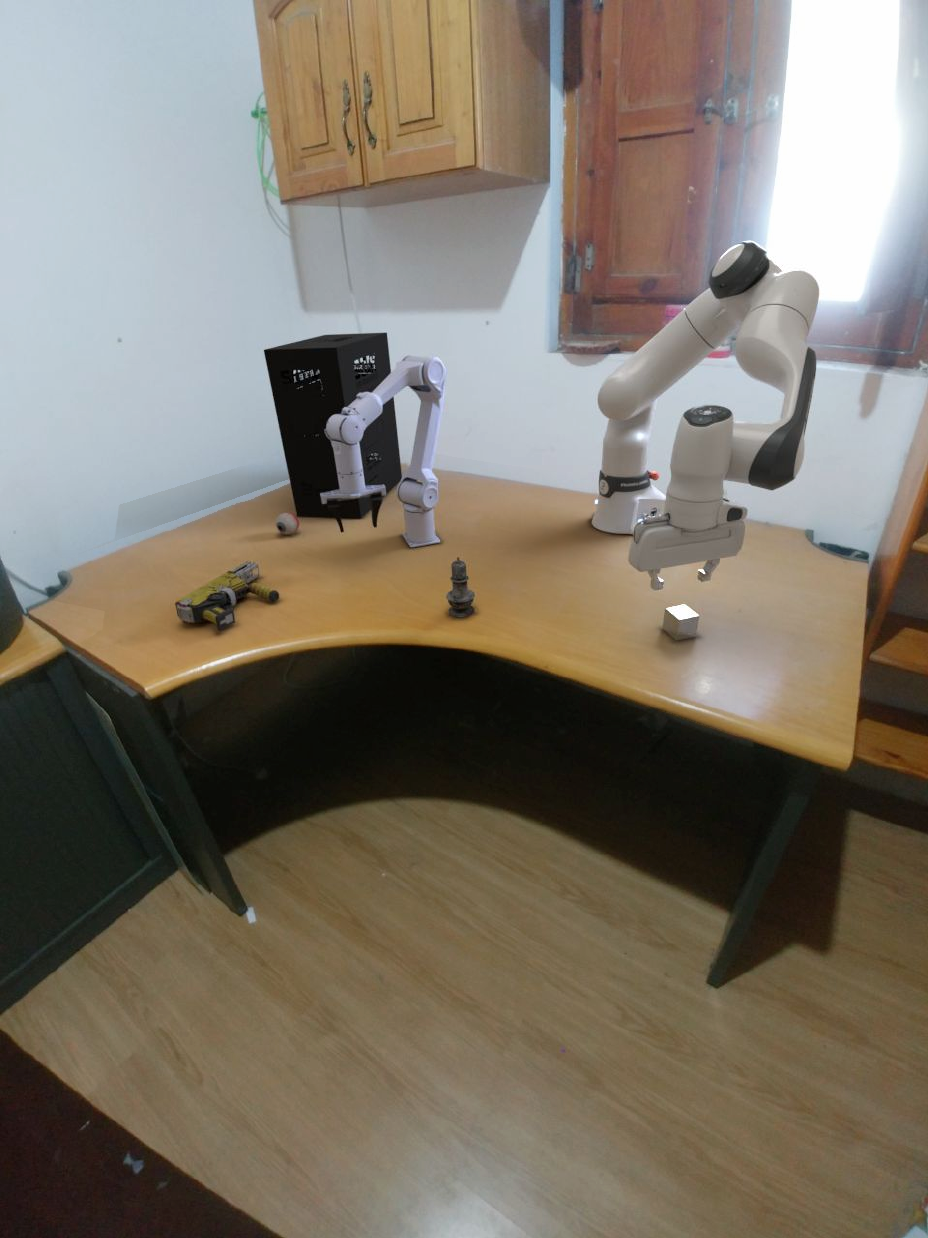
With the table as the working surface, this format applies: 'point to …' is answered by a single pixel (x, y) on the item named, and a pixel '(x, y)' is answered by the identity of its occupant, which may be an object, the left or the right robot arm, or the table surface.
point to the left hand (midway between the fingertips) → (358, 528)
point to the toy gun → (222, 597)
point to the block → (680, 622)
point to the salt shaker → (460, 591)
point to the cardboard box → (319, 402)
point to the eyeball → (287, 523)
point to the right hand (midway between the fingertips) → (680, 584)
